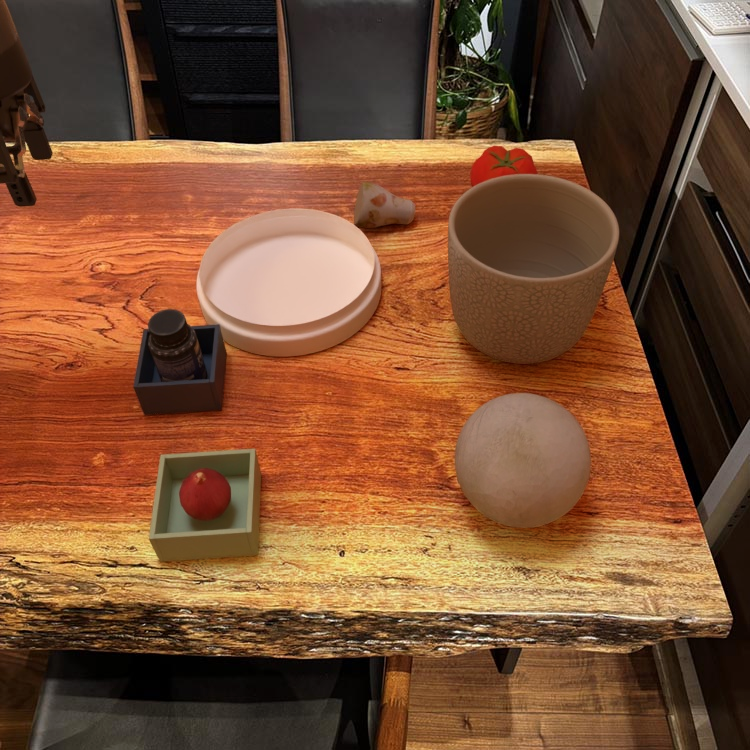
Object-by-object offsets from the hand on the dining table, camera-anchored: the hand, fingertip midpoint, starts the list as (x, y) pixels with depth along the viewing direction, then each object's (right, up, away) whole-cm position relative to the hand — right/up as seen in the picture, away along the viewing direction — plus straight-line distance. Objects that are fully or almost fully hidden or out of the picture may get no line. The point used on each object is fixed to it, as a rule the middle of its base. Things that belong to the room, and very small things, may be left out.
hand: (35, 180), depth 89 cm
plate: (+25, -9, +31) cm, 41 cm away
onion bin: (+18, -38, +6) cm, 43 cm away
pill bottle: (+12, -22, +19) cm, 32 cm away
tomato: (+59, +8, +45) cm, 74 cm away
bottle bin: (+12, -23, +20) cm, 32 cm away
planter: (+58, -15, +25) cm, 65 cm away
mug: (+39, +3, +41) cm, 57 cm away
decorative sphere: (+54, -36, +7) cm, 66 cm away
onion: (+18, -38, +6) cm, 42 cm away
